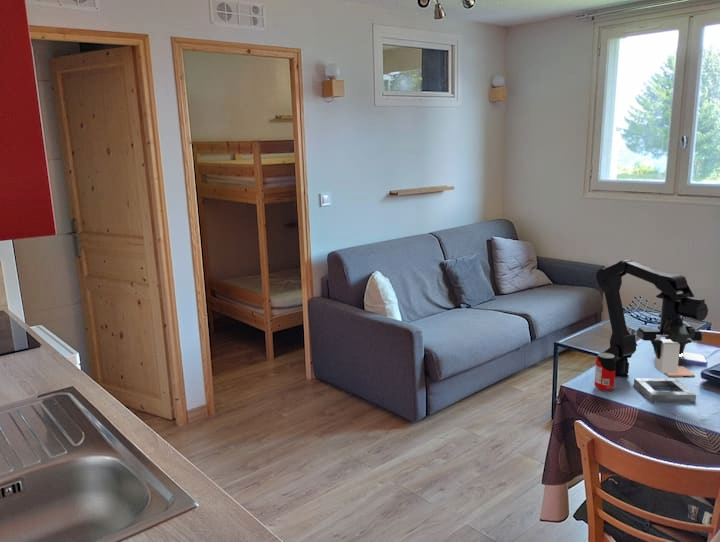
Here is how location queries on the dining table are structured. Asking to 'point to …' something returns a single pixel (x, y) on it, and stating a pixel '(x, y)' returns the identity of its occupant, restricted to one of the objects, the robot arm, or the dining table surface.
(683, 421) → the dining table surface
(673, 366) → the end plug
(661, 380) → the bore housing
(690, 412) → the dining table surface
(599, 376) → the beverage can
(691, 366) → the dining table surface
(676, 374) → the terracotta tile
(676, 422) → the dining table surface
